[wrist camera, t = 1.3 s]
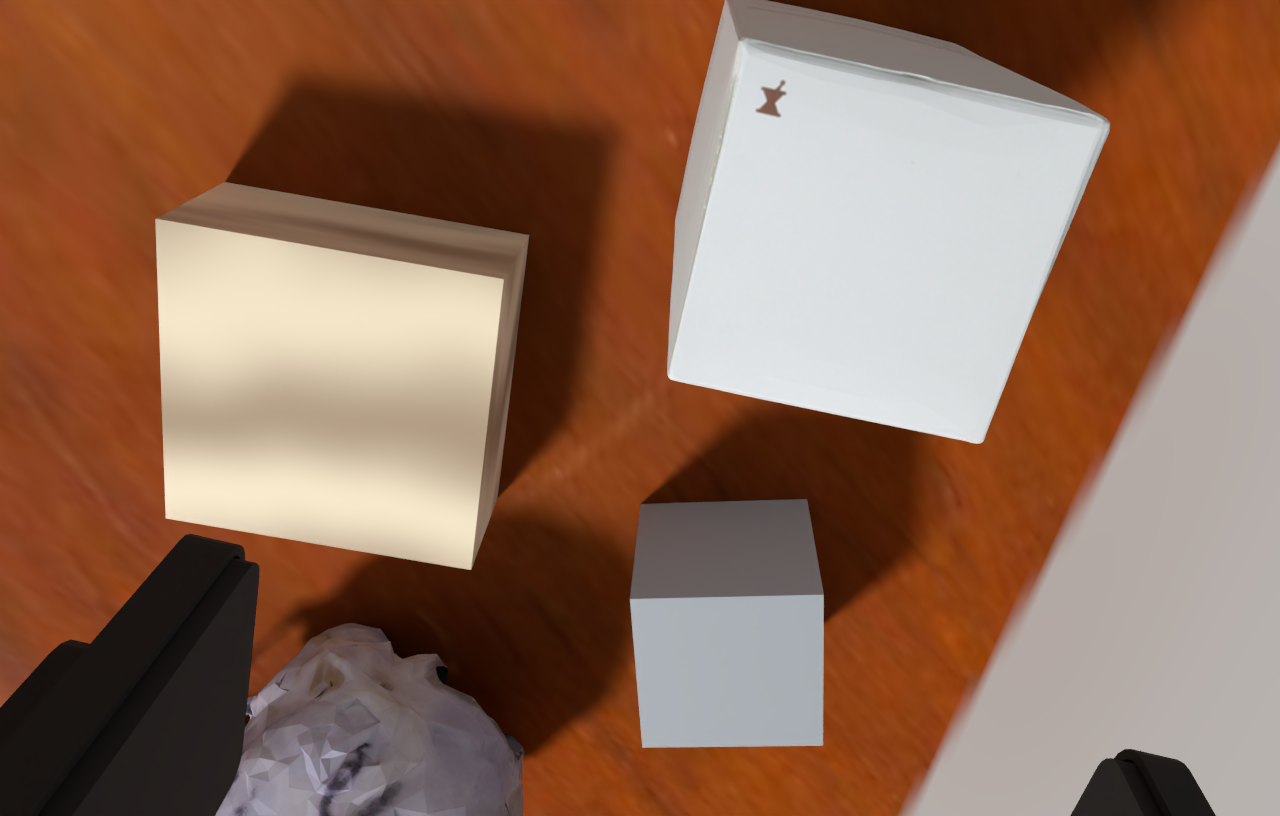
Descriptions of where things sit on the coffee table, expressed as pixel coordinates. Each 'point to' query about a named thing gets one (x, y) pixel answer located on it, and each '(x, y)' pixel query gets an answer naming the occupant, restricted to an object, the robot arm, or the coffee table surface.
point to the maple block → (335, 371)
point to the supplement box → (868, 219)
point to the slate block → (728, 624)
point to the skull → (371, 738)
